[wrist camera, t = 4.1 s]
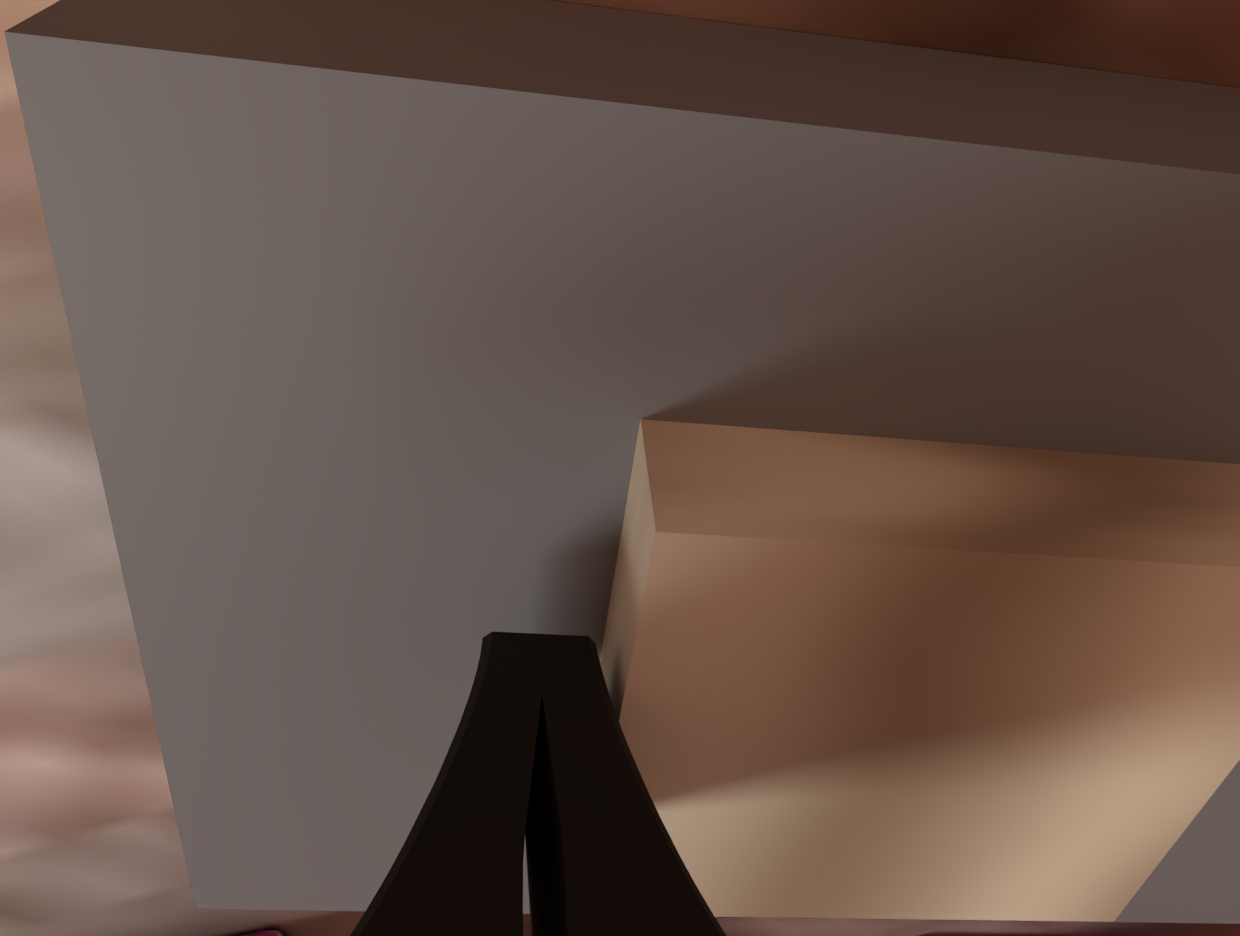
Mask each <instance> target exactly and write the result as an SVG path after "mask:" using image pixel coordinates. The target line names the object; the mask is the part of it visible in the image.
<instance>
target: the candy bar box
mask: <svg viewBox="0 0 1240 936" xmlns="http://www.w3.org/2000/svg"><path fill="white" fill-rule="evenodd" d="M241 936H284V935H283V934H282V933H281V932H279V931H277V930H264V931H259V932H254V933H250V934H246V935H241Z"/></svg>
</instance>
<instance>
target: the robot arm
mask: <svg viewBox="0 0 1240 936" xmlns="http://www.w3.org/2000/svg"><path fill="white" fill-rule="evenodd" d="M525 841H526V858H527V875H528V891H529V907H530V923H531V936H726V934H725V933H724V931H723V930H722V928H721V927H720V925H719V923H718V922H717V920H716V918H715V917H714V915H713V913H712V912H711V910H710V908H709V906H708V905H707V903H706V901H705V900H704V898H703V896H702V895H701V893H700V891H699V890H698V888H697V886H696V884H695V882H694V881H693V879H692V877H691V875H690V874H689V872H688V870H687V868H686V866H685V864H684V862H683V861H682V859H681V857H680V855H679V853H678V851H677V849H676V847H675V845H674V843H673V841H672V839H671V838H670V836H669V834H668V832H667V830H666V828H665V826H664V824H663V822H662V820H661V818H660V816H659V814H658V812H657V809H656V807H655V805H654V803H653V801H652V799H651V797H650V795H649V792H648V790H647V788H646V786H645V783H644V781H643V779H642V776H641V774H640V772H639V769H638V767H637V765H636V763H635V760H634V758H633V756H632V753H631V751H630V749H629V746H628V744H627V741H626V739H625V736H624V734H623V731H622V728H621V726H620V723H619V720H618V717H617V715H616V712H615V709H614V706H613V704H612V701H611V698H610V695H609V692H608V689H607V685H606V682H605V679H604V675H603V672H602V668H601V664H600V661H599V657H598V652H597V647H596V643H595V642H594V641H593V640H592V639H591V638H590V637H589V636H576V635H555V634H534V633H513V632H491V633H489V634H488V635H486V636H485V637H483V639H482V646H481V654H480V659H479V663H478V667H477V671H476V675H475V679H474V682H473V685H472V689H471V692H470V695H469V698H468V701H467V704H466V706H465V709H464V712H463V715H462V718H461V721H460V723H459V726H458V728H457V731H456V733H455V736H454V738H453V740H452V743H451V745H450V748H449V750H448V752H447V755H446V757H445V760H444V762H443V764H442V767H441V769H440V771H439V774H438V776H437V778H436V780H435V782H434V785H433V787H432V789H431V791H430V793H429V795H428V797H427V799H426V801H425V803H424V805H423V807H422V809H421V811H420V813H419V815H418V817H417V819H416V821H415V823H414V825H413V827H412V829H411V831H410V833H409V835H408V837H407V839H406V841H405V843H404V845H403V847H402V848H401V850H400V852H399V854H398V856H397V858H396V859H395V861H394V863H393V865H392V867H391V869H390V870H389V872H388V874H387V876H386V877H385V879H384V881H383V883H382V884H381V886H380V888H379V889H378V891H377V893H376V895H375V896H374V898H373V900H372V901H371V903H370V905H369V906H368V908H367V910H366V911H365V913H364V915H363V916H362V918H361V920H360V921H359V923H358V924H357V926H356V928H355V929H354V931H353V932H352V934H351V935H350V936H523V857H524V843H525Z"/></svg>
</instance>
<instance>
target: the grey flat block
mask: <svg viewBox="0 0 1240 936" xmlns="http://www.w3.org/2000/svg"><path fill="white" fill-rule="evenodd" d="M5 36H6V41H7V45H8V50H9V55H10V59H11V64H12V68H13V73H14V78H15V82H16V87H17V91H18V96H19V100H20V105H21V110H22V114H23V119H24V123H25V128H26V132H27V137H28V142H29V146H30V151H31V155H32V160H33V165H34V169H35V174H36V178H37V183H38V187H39V192H40V197H41V201H42V206H43V210H44V215H45V219H46V224H47V229H48V233H49V238H50V242H51V247H52V252H53V256H54V261H55V265H56V270H57V274H58V279H59V284H60V288H61V293H62V297H63V302H64V306H65V311H66V316H67V320H68V325H69V329H70V334H71V339H72V343H73V348H74V352H75V357H76V361H77V366H78V371H79V375H80V380H81V384H82V389H83V394H84V398H85V403H86V407H87V412H88V416H89V421H90V426H91V430H92V435H93V439H94V444H95V448H96V453H97V458H98V462H99V467H100V471H101V476H102V481H103V485H104V490H105V494H106V499H107V503H108V508H109V513H110V517H111V522H112V526H113V531H114V535H115V540H116V545H117V549H118V554H119V558H120V563H121V568H122V572H123V577H124V581H125V586H126V590H127V595H128V600H129V604H130V609H131V613H132V618H133V622H134V627H135V632H136V636H137V641H138V645H139V650H140V655H141V659H142V664H143V668H144V673H145V677H146V682H147V687H148V691H149V696H150V700H151V705H152V709H153V714H154V719H155V723H156V728H157V732H158V737H159V742H160V746H161V751H162V755H163V760H164V764H165V769H166V774H167V778H168V783H169V787H170V792H171V797H172V801H173V806H174V810H175V815H176V819H177V824H178V829H179V833H180V838H181V842H182V847H183V851H184V856H185V861H186V865H187V870H188V874H189V879H190V884H191V888H192V893H193V897H194V902H195V906H196V909H229V910H300V911H366V910H367V908H368V906H369V905H370V903H371V901H372V900H373V898H374V896H375V895H376V893H377V891H378V889H379V888H380V886H381V884H382V883H383V881H384V879H385V877H386V876H387V874H388V872H389V870H390V869H391V867H392V865H393V863H394V861H395V859H396V858H397V856H398V854H399V852H400V850H401V848H402V847H403V845H404V843H405V841H406V839H407V837H408V835H409V833H410V831H411V829H412V827H413V825H414V823H415V821H416V819H417V817H418V815H419V813H420V811H421V809H422V807H423V805H424V803H425V801H426V799H427V797H428V795H429V793H430V791H431V789H432V787H433V785H434V782H435V780H436V778H437V776H438V774H439V771H440V769H441V767H442V764H443V762H444V760H445V757H446V755H447V752H448V750H449V748H450V745H451V743H452V740H453V738H454V736H455V733H456V731H457V728H458V726H459V723H460V721H461V718H462V715H463V712H464V709H465V706H466V704H467V701H468V698H469V695H470V692H471V689H472V685H473V682H474V679H475V675H476V671H477V667H478V663H479V659H480V654H481V646H482V639H483V637H485V636H486V635H488V634H489V633H491V632H513V633H534V634H555V635H576V636H589V637H590V638H591V639H592V640H593V641H594V642H595V643H596V647H597V652H598V657H599V661H600V657H601V651H602V645H603V639H604V633H605V627H606V621H607V615H608V609H609V603H610V597H611V591H612V585H613V580H614V574H615V568H616V562H617V556H618V550H619V544H620V538H621V532H622V526H623V520H624V514H625V508H626V502H627V496H628V491H629V485H630V479H631V473H632V467H633V461H634V455H635V449H636V443H637V437H638V431H639V425H640V419H644V420H657V421H671V422H684V423H698V424H711V425H724V426H738V427H751V428H764V429H777V430H791V431H804V432H817V433H831V434H844V435H857V436H870V437H884V438H897V439H910V440H924V441H937V442H950V443H963V444H977V445H990V446H1003V447H1017V448H1030V449H1043V450H1056V451H1070V452H1083V453H1096V454H1110V455H1123V456H1136V457H1149V458H1163V459H1176V460H1189V461H1203V462H1216V463H1229V464H1240V88H1235V87H1227V86H1219V85H1211V84H1204V83H1196V82H1188V81H1180V80H1172V79H1164V78H1156V77H1149V76H1141V75H1133V74H1125V73H1117V72H1109V71H1101V70H1094V69H1086V68H1078V67H1070V66H1062V65H1054V64H1047V63H1039V62H1031V61H1023V60H1015V59H1007V58H999V57H992V56H984V55H976V54H968V53H960V52H952V51H944V50H937V49H929V48H921V47H913V46H905V45H897V44H889V43H882V42H874V41H866V40H858V39H850V38H842V37H835V36H827V35H819V34H811V33H803V32H795V31H787V30H780V29H772V28H764V27H756V26H748V25H740V24H732V23H725V22H717V21H709V20H701V19H693V18H685V17H677V16H670V15H662V14H654V13H646V12H638V11H630V10H623V9H615V8H607V7H599V6H591V5H583V4H575V3H568V2H560V1H552V0H60V1H58V2H57V3H55V4H53V5H51V6H49V7H48V8H46V9H44V10H42V11H41V12H39V13H37V14H35V15H33V16H32V17H30V18H28V19H26V20H24V21H23V22H21V23H19V24H17V25H16V26H14V27H12V28H10V29H8V30H7V31H5ZM523 914H530V907H529V891H528V875H527V858H526V841H525V843H524V857H523ZM935 920H941V919H935ZM1005 921H1021V920H1005ZM1076 922H1100V921H1076ZM1114 922H1146V923H1217V924H1240V760H1239V761H1238V762H1237V764H1236V765H1235V766H1234V768H1233V769H1232V770H1231V771H1230V773H1229V774H1228V775H1227V777H1226V778H1225V779H1224V780H1223V782H1222V783H1221V784H1220V786H1219V787H1218V788H1217V789H1216V791H1215V792H1214V793H1213V795H1212V796H1211V797H1210V798H1209V800H1208V801H1207V802H1206V804H1205V805H1204V806H1203V807H1202V809H1201V810H1200V811H1199V813H1198V814H1197V815H1196V816H1195V818H1194V819H1193V820H1192V822H1191V823H1190V824H1189V825H1188V827H1187V828H1186V829H1185V831H1184V832H1183V833H1182V834H1181V836H1180V837H1179V838H1178V840H1177V841H1176V842H1175V843H1174V845H1173V846H1172V847H1171V849H1170V850H1169V851H1168V852H1167V854H1166V855H1165V856H1164V858H1163V859H1162V860H1161V861H1160V863H1159V864H1158V865H1157V867H1156V868H1155V869H1154V870H1153V872H1152V873H1151V874H1150V876H1149V877H1148V878H1147V879H1146V881H1145V882H1144V883H1143V885H1142V886H1141V887H1140V888H1139V890H1138V891H1137V892H1136V894H1135V895H1134V896H1133V898H1132V899H1131V900H1130V901H1129V903H1128V904H1127V905H1126V907H1125V908H1124V909H1123V910H1122V912H1121V913H1120V914H1119V916H1118V917H1117V918H1116V919H1115V921H1114Z"/></svg>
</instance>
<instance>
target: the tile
mask: <svg viewBox="0 0 1240 936" xmlns="http://www.w3.org/2000/svg"><path fill="white" fill-rule="evenodd" d="M600 664H601V668H602V672H603V675H604V679H605V682H606V685H607V689H608V692H609V695H610V698H611V701H612V704H613V706H614V709H615V712H616V715H617V717H618V720H619V723H620V726H621V728H622V731H623V734H624V736H625V739H626V741H627V744H628V746H629V749H630V751H631V753H632V756H633V758H634V760H635V763H636V765H637V767H638V769H639V772H640V774H641V776H642V779H643V781H644V783H645V786H646V788H647V790H648V792H649V795H650V797H651V799H652V801H653V803H654V805H655V807H656V809H657V812H658V814H659V816H660V818H661V820H662V822H663V824H664V826H665V828H666V830H667V832H668V834H669V836H670V838H671V839H672V841H673V843H674V845H675V847H676V849H677V851H678V853H679V855H680V857H681V859H682V861H683V862H684V864H685V866H686V868H687V870H688V872H689V874H690V875H691V877H692V879H693V881H694V882H695V884H696V886H697V888H698V890H699V891H700V893H701V895H702V896H703V898H704V900H705V901H706V903H707V905H708V906H709V908H710V910H711V912H712V913H713V915H714V917H781V918H861V919H941V920H1021V921H1100V922H1114V921H1115V919H1116V918H1117V917H1118V916H1119V914H1120V913H1121V912H1122V910H1123V909H1124V908H1125V907H1126V905H1127V904H1128V903H1129V901H1130V900H1131V899H1132V898H1133V896H1134V895H1135V894H1136V892H1137V891H1138V890H1139V888H1140V887H1141V886H1142V885H1143V883H1144V882H1145V881H1146V879H1147V878H1148V877H1149V876H1150V874H1151V873H1152V872H1153V870H1154V869H1155V868H1156V867H1157V865H1158V864H1159V863H1160V861H1161V860H1162V859H1163V858H1164V856H1165V855H1166V854H1167V852H1168V851H1169V850H1170V849H1171V847H1172V846H1173V845H1174V843H1175V842H1176V841H1177V840H1178V838H1179V837H1180V836H1181V834H1182V833H1183V832H1184V831H1185V829H1186V828H1187V827H1188V825H1189V824H1190V823H1191V822H1192V820H1193V819H1194V818H1195V816H1196V815H1197V814H1198V813H1199V811H1200V810H1201V809H1202V807H1203V806H1204V805H1205V804H1206V802H1207V801H1208V800H1209V798H1210V797H1211V796H1212V795H1213V793H1214V792H1215V791H1216V789H1217V788H1218V787H1219V786H1220V784H1221V783H1222V782H1223V780H1224V779H1225V778H1226V777H1227V775H1228V774H1229V773H1230V771H1231V770H1232V769H1233V768H1234V766H1235V765H1236V764H1237V762H1238V761H1239V760H1240V464H1229V463H1216V462H1203V461H1189V460H1176V459H1163V458H1149V457H1136V456H1123V455H1110V454H1096V453H1083V452H1070V451H1056V450H1043V449H1030V448H1017V447H1003V446H990V445H977V444H963V443H950V442H937V441H924V440H910V439H897V438H884V437H870V436H857V435H844V434H831V433H817V432H804V431H791V430H777V429H764V428H751V427H738V426H724V425H711V424H698V423H684V422H671V421H657V420H644V419H640V425H639V431H638V437H637V443H636V449H635V455H634V461H633V467H632V473H631V479H630V485H629V491H628V496H627V502H626V508H625V514H624V520H623V526H622V532H621V538H620V544H619V550H618V556H617V562H616V568H615V574H614V580H613V585H612V591H611V597H610V603H609V609H608V615H607V621H606V627H605V633H604V639H603V645H602V651H601V657H600Z"/></svg>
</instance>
